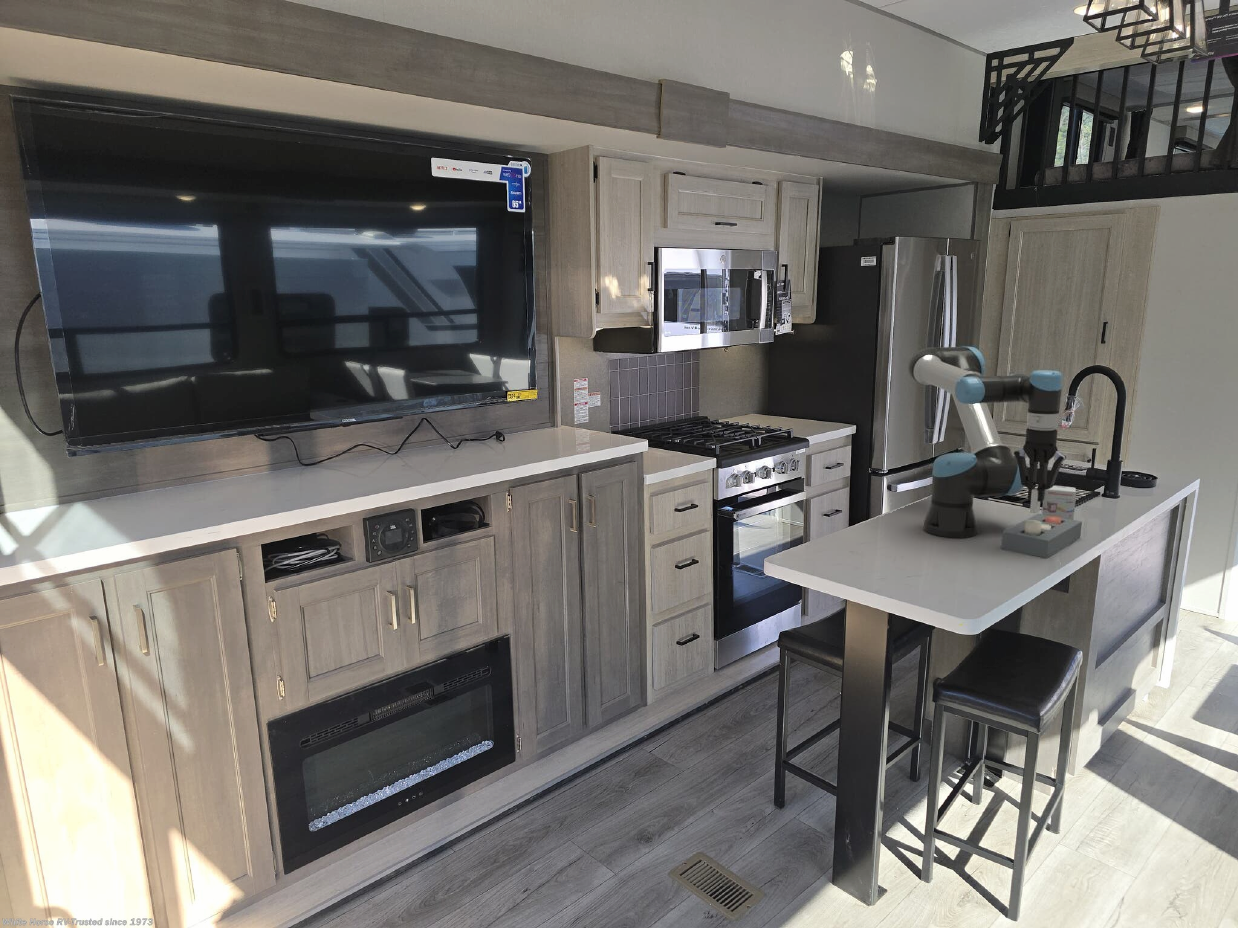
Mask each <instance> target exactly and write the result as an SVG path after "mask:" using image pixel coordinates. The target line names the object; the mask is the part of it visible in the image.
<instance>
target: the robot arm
mask: <svg viewBox="0 0 1238 928" xmlns="http://www.w3.org/2000/svg"><path fill="white" fill-rule="evenodd" d="M985 365H986V363H985V359H984V356H983V354H982V352H980V350H978V348H976V347H973V346H965V345H959V346H943V347H942V346H941V347H940V346H939V347H926V348H923V349H920V350H918V351H917V352H915V353H914V354H913V355H912V356H911V358H910V359H909V362H908V364H907V371H908V372H907V373H908V374H909V376H910V378H911V379H912V380H913V381H915V382H916V383H919V384H920V385H924V386H929V385H932V386H934V387H937V388H940V389H941V390H943V391H945V392H946V393H948V394H951V396H952V398H953V400H954V401H953V402H954V404H955V407H956V410H957V412H958V416H959V418H960V421H961V424H962V427H963V429H964V432H965V435H966V437H967V440H968V443H969V447H970V449H971V452H972V453H970V452H953V453H952V452H951V453H946V454H942V455H940V456H938V457H936V459H935V460H934V462H933V467H932V471H931V472H932V473H931V474H932V476H931V477H932V481H931V495H930V496H931V498H930V499H931V501H930V505H929V508H928V511H927V513H926V515H925V517H924V520H923V527H922V528H923V530H924V531H925V532H927V533H929V534H930V535H935V536H937V537H939V536H940V537H944V538H955V539H956V538H959V539H961V538H971V537H974V536H976V535H977V534H978V529H979V526H978V522H977V519H976V515H975V512H974V508H973V507H974V505H973V504H974V498H975V497H997V496H1002V497H1005V496H1011V495H1016V494H1018V493H1019V492H1021V490H1023V488H1024V487H1026V488H1027V490H1028V491H1027V500H1028V501H1030V506H1029V507H1030V508H1029V513H1031V514H1039V513H1040V510H1041V509H1040V507H1041V503H1043V500H1044V496H1045V490H1046V489H1050V488H1052V487H1053V486H1055V482H1056V479H1057V477H1058V474H1059V473H1060V469H1061V466H1062V463H1063V462H1064V461H1066V460H1067V456H1066V455H1064V454H1062V453H1060V452H1059V450H1058V446H1057V442H1058V441H1057V440H1058V430H1057V428H1058V427H1059V419H1060V407H1061V398H1062V389H1063V383H1062V382H1063V374H1062V373H1061V372H1060V371H1059V370H1049V369H1048V370H1047V369H1045V370H1044V369H1039V370H1032V371H1031V373H1030V375H1027V374H1024V373H1012V374H1009V375H994V376H993V375H990V376H987V375H985V370H986V367H985ZM984 375H985V376H984ZM993 403H995V404H997V403H1025V404H1028V405H1027V417H1026V418H1027V420H1026V426H1027V427H1026V430H1025V439H1024V441H1025V443H1024V444H1023V446H1022V448H1021V449H1018V450H1014V452H1013V454H1012V451H1011V449H1010V447H1009V446H1008V445H1007V444H1003V442H1002V440H1001V438H1000V435H999V433H998V430H997V427H996V425H995V422H994V420H993V418H992V417H993V416H992V415H991V411H990V409H989V407H988V404H993ZM1025 456H1027V457H1028V459H1029V469H1028V466H1027V461H1026V457H1025ZM1053 457H1054V458H1053ZM1052 459H1053V460H1054V462H1053V464H1052V467H1051V470H1050V471H1049V475H1048V466H1049V464H1050V463H1049V462H1050V460H1052ZM1038 466H1039V470H1038ZM1037 475H1038V482H1037ZM1047 476H1048V477H1047ZM1037 483H1038V484H1037Z"/></svg>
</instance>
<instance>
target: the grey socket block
mask: <svg viewBox="0 0 1238 928" xmlns="http://www.w3.org/2000/svg"><path fill="white" fill-rule="evenodd" d="M1046 516H1048V515H1042V513H1036V514H1035V515H1033V516H1031V517H1028V518H1027V519H1024V520H1023V521H1022V522H1019V523H1017V524H1015V525H1013V526H1012V527H1009V528H1007V529H1005V530H1003V531H1002V536H1001V537H1002V539H1001V550H1007V551H1011V552H1015V553H1020V554H1025V555H1029V556H1034V557H1039V558H1043V559H1048V558H1050V557H1051V556H1053V555H1055V554H1056V553H1058V552H1060V551H1061V550H1064V549H1065V548H1066V547H1068V546H1069V545H1071V544H1072V543H1074V542H1077V541H1078V540H1079V539H1081V532H1082V523H1083V521H1081V520H1075V519H1073V520H1070V519H1065V518H1061V524H1053V523H1048V522H1045V519H1046ZM1026 520H1037V521H1040V522H1042V523H1041V524H1047V525H1050V526H1051V529H1050V530H1045V529H1041V534H1040V535H1039V536H1036V535H1031V534H1026V533H1024V531H1025V521H1026Z"/></svg>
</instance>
